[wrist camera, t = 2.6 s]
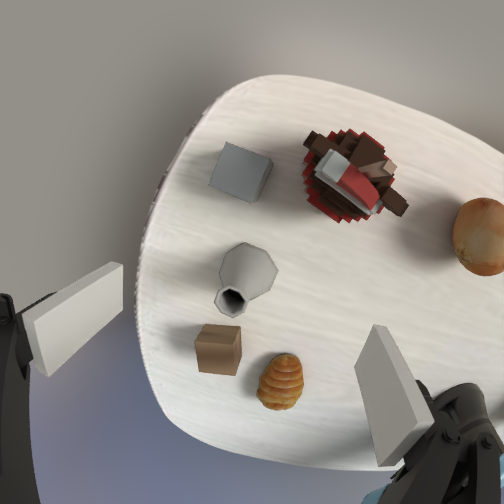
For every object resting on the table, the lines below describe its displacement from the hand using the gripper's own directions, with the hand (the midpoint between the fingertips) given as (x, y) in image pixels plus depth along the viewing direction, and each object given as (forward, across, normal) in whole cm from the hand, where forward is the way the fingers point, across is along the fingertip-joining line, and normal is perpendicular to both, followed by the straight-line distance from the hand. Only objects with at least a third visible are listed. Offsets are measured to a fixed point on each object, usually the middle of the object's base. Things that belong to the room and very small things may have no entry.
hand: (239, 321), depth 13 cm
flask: (+22, +2, +6) cm, 23 cm away
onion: (+21, -27, -7) cm, 35 cm away
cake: (+22, -7, -8) cm, 25 cm away
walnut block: (+22, +3, +17) cm, 27 cm away
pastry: (+21, -7, +21) cm, 31 cm away
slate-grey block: (+22, +4, -6) cm, 24 cm away
